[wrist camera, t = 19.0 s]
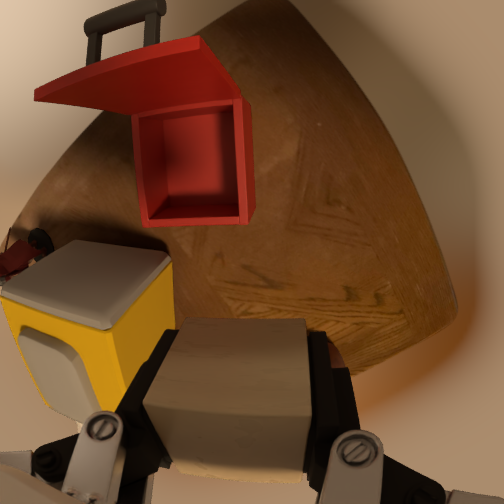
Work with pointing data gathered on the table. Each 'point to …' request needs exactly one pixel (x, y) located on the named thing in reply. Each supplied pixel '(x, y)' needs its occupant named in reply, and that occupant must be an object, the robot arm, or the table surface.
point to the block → (235, 399)
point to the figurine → (24, 254)
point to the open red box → (195, 164)
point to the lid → (141, 68)
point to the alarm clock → (89, 321)
